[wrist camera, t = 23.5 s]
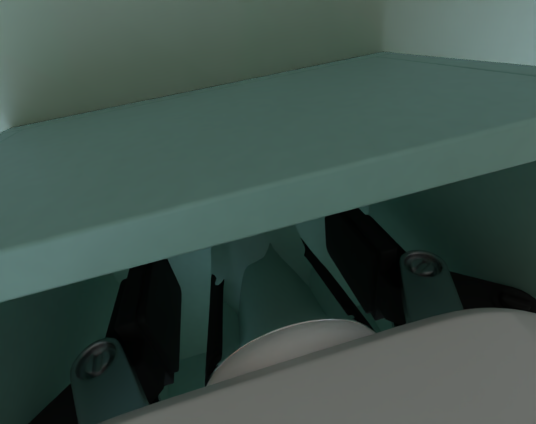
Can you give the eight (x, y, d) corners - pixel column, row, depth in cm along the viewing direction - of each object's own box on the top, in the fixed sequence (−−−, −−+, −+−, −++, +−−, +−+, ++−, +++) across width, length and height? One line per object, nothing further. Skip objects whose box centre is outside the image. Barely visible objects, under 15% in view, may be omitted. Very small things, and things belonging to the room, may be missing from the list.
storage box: (9, 128, 10) (-430, 357, 3) (383, 51, 12) (694, 79, 5) (162, 361, 19) (144, 567, 12) (368, 299, 20) (466, 446, 13)
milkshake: (167, 242, 13) (131, 586, 5) (233, 149, 12) (339, 427, 3) (246, 274, 15) (311, 552, 7) (311, 200, 14) (490, 446, 6)
